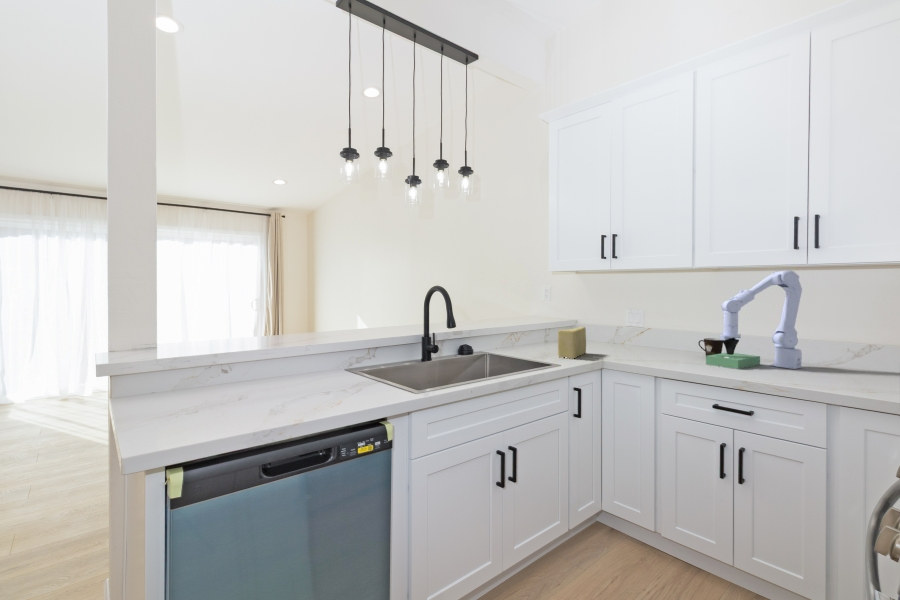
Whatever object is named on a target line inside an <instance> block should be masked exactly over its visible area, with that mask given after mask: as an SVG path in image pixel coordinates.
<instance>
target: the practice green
mask: <svg viewBox="0 0 900 600" xmlns="http://www.w3.org/2000/svg"><path fill="white" fill-rule="evenodd" d="M724 357H729V358H724ZM708 364H710V365H709V366H714V365H715V367H721V366H722V367H723V368H727V367H728V369H734V368H736V369H735V370H740V369H739V368H741V369H745V368H744V367H746V368H750V367H749V366H751V367H755V365H756V366H761V356H760V355H753V354H744V353H737V352H734V354H733V355H729V354H727V352H722V353H721V354H715V355H708V356H706V355H705V365H708ZM722 367H721V368H722Z"/></svg>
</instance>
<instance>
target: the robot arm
mask: <svg viewBox="0 0 900 600" xmlns="http://www.w3.org/2000/svg"><path fill="white" fill-rule="evenodd" d="M801 285H802V284H801V282H800V275H799V274H797V273H796V272H795V271H793V270H790V269H789V270H777V271H774V272H773V273H771V274H769V275H767V276H766V277H765V278H763V279H762V280H760V281H759V282H758V283H756V284H755V285H753V287H751V288H750V289H741V290H739V291H738V293H736V295H734V296H731V297H730V298H729V300H728V299H727V300H725V301H723V303H722V305H721V310H722V311H723V322H722V324H723V328H722V329H723V331H722V333H723V334H722V333H721V334H720V335H719V339H720V340H722V342H723V346H724V347H725V353H727V354H729V355H733V354H734V353H735V350H736V347H737V346H738V343H739V341H740V340H739V339H741V334H740V333H739V312H740V311H741V309H742V307H744V306H746V305H747V304H749V303H750V302H752V301H753V300H755V296H756V295H758V294H759V293H761V292H764V290H766V289H768V288H769V287H771V286H778V287H780V288H781V289H783V290H784V292H785V296H784V297H785V298H784V302H783V305H782V306H783V307H782V312H781V317H780V321H779V325H778V326H777V327H776V328H775V331H774V333H773V334H772V336H771V341H772V343H773V344H774V352H773V354H774V355H773V356H774V357H773V358H774V359H773V360H774V361H773V363H772V364H770V365H769V366H770V367H778V368H783V369H790V370H791V369H792V370H796V369H800V368H803V366H802V357H803V355H802V350H801V349H800V348H795V347H796V346H797V345H798V343H799V339H798V331H797V329H796V322H797V316H798V311H799V306H800V303H801V297H802V292H803V287H802V286H801Z"/></svg>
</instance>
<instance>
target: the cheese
mask: <svg viewBox="0 0 900 600" xmlns="http://www.w3.org/2000/svg"><path fill="white" fill-rule="evenodd" d="M586 333H587V332H586V327H585V326H579V327H574V328H570V329H559V330H557V354H558V355H557V356H559V357H558V358H560V357H567V358H566V359H568V358H575V359H577V358H578V357H580V356H579V355H581V356H583V355H585V354H586V353H587V334H586ZM584 353H585V354H584ZM582 354H583V355H582ZM577 356H578V357H577ZM576 357H577V358H576Z"/></svg>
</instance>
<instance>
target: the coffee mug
mask: <svg viewBox="0 0 900 600" xmlns="http://www.w3.org/2000/svg"><path fill="white" fill-rule="evenodd" d="M701 342H703V343H704V348H703V346H701V344H700V343H701ZM697 343H698V346H699V347H700V349H701V350H703V351H704V353H705V357H706V356H708V355H715V354H721V353H723V346H724V343H723V342H722V340H720V338H715V337H706V338H705V337H704V338H703V339H701V340H699V341H698V342H697Z"/></svg>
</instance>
